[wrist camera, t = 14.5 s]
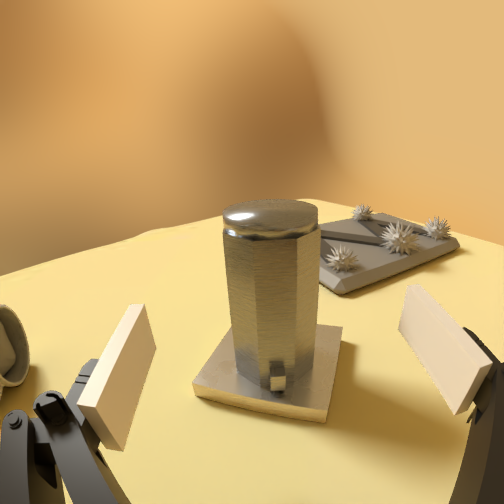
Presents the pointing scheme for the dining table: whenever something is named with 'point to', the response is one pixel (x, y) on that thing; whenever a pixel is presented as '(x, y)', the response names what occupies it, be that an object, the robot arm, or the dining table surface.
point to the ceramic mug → (12, 349)
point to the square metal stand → (262, 398)
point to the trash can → (273, 288)
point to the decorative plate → (376, 248)
